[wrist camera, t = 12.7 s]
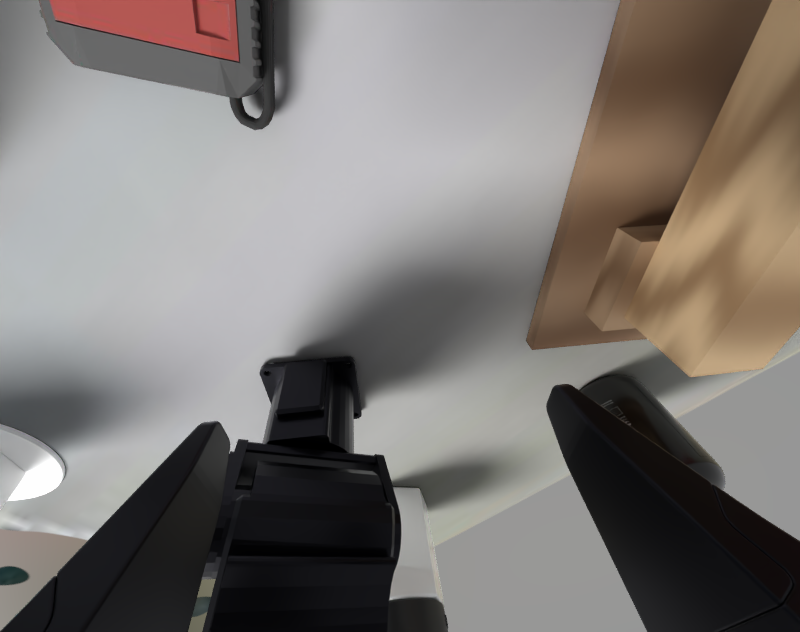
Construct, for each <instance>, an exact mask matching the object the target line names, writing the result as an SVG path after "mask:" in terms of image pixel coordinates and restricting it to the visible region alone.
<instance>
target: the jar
mask: <svg viewBox="0 0 800 632" xmlns="http://www.w3.org/2000/svg"><path fill="white" fill-rule="evenodd" d="M393 489H394V493H395V496H396V500H397V503H398V507H399V511H400V517H401V548H400V555H399V559H398V563H397V566H396V569H395V571H394V575H393V580H392V584H391V591H390V599H389V609H388V628H387V632H448V624H447V618H446V615H445V611H444V601H443V596H442V591H441V584H440V579H439V573H438V567H437V561H436V556H435V550H434V544H433V539H432V533H431V527H430V522H429V516H428V510H427V506H426V503H425V501H424V498H423V496H422V493H421V491H420V489H419V488H406V487H393Z"/></svg>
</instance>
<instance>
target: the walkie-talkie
mask: <svg viewBox="0 0 800 632" xmlns="http://www.w3.org/2000/svg"><path fill="white" fill-rule="evenodd" d="M39 3H40V6H41V9H42V10H40V14H41V17H42V18H44V19H45V22H46V25H47V29H48V32H46V33H47V35H48V36H49V37H50V39H51V40H52V41H53V42H54V43H55V44H56V45H57V46H58V48H59V49H60V50H61V51H62V52H63V53H64V54H65V55H66V57H67V58H68V59H69V60H70V61H71V62H72V63H73V64H74V65H77V66H81V67H85V68H90V69H94V70H99V71H104V72H109V73H114V74H119V75H124V76H129V77H133V78H138V79H143V80H148V81H153V82H158V83H163V84H167V85H172V86H177V87H182V88H187V89H192V90H197V91H202V92H206V93H211V94H216V95H221V96H226V97H229V98H230V104H231V108H232V110H233V112H234V115H235V117H236V118H237V119H238V120H239V122H240V123H241V124H243V125H245V126H247V127H249V128H252V129H254V130H258V129H263V128H264V127H266V126H267V125H269V123H270V121H271V120H272V117H273V113H274V109H275V83H274V27H273V0H39ZM262 85H263V96H264V104H263V111H262V114H261V116H260V117H259V118H257V119H256V118H254V117H251V116H249V115H248V114H247V113H246V112H245V110H244V106H243V103H242V97H245V96H249V95H252V94H254V93H255V92H256V91H257V90H258V89H259V88H260V87H261V86H262Z"/></svg>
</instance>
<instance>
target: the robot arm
mask: <svg viewBox="0 0 800 632" xmlns="http://www.w3.org/2000/svg"><path fill="white" fill-rule="evenodd" d="M346 363H350V364H346ZM267 371H270V372H267ZM260 376H261V378H262V381H263V384H264V386H265V389H266V391H267V394H268V397H269V399H270V402H271V408H270V413H269V417H268V421H267V426H266V430H265V434H264V438H263V443H254V442H248V440H242V439H238V442H237V445H236V448H235V451H234V452H232V451H231V452H230V454H229V451H230V441H229V438H228V436H227V434H226V432H225V430H224V429H223V427H222V425H221V423H220V422H218V421H213V422H204V423H201V424H200V425H198V426H197V427H196V428H195V430H194V431H193V432H192V433H191V434H190V435H189V436H188V437H187V438H186V439H185V440H184V441H183V442H182V443H181V444H180V445H179V446H178V447H177V448H176V449H175V450H174V451H173V452H172V454H171V455H170V456H169V457H168V458H167V459H166V460H165V461H164V462H163V463H162V464H161V465H160V466H159V467H158V468H157V469H156V470H155V471H154V472H153V473H152V474H151V475H150V476H149V478H148V479H147V480H146V481H145V482H144V483H143V484H142V485H141V486H140V487H139V488H138V489H137V490H136V491H135V492H134V493H133V494H132V495H131V496H130V497H129V498H128V499H127V500H126V502H125V503H124V504H123V505H122V506H121V507H120V508H119V509H118V510H117V511H116V512H115V513H114V514H113V515H112V516H111V517H110V518H109V519H108V520H107V521H106V522H105V523H104V524H103V526H102V527H101V528H100V529H99V530H98V531H97V532H96V533H95V534H94V535H93V536H92V537H91V538H90V539H89V540H88V541H87V542H86V543H85V544H84V545H83V546H82V548H81V549H80V550H79V551H78V552H77V553H76V554H75V555H74V556H73V557H72V558H71V559H70V560H69V561H68V562H67V563H66V564H65V565H64V566H63V567H62V568H61V569H60V570H59V571H58V573H57V576H54V577H53V578H52V579H51V580H50V581H49V582H48V583H47V584H46V585H45V586H44V587H43V588H42V589H41V590H40V591H39V592H38V593H37V594H36V595H35V597H33V598H32V599H31V601H30V602H28V603H27V605H25V607H24V608H23V609H22V610H21V611H20V612H19V613H18V614H17V615H16V616H15V617H14V618H13V619H12V620H11V621H10V622H9V623H8V624H7V625H6V626H5V627H4V628H3V629H2V630H1V631H0V632H188V629H189V625H190V621H191V618H192V614H193V610H194V606H195V603H196V599H197V595H198V591H199V587H200V584H201V580H202V579H216V581H215V584H214V588H213V592H212V596H211V600H210V604H209V608H208V612H207V616H206V620H205V623H204V627H203V631H202V632H387V628H388V609H389V599H390V591H391V584H392V580H393V575H394V571H395V569H396V566H397V563H398V559H399V555H400V548H401V517H400V511H399V507H398V503H397V500H396V496H395V493H394V489H393V486H392V482H391V479H390V476H389V472H388V469H387V465H386V462H385V458H384V455H377V454H375V455H374V456H373V455H364V454H354V422H353V419H357V418H359V417H361V403H360V396H359V388H358V380H357V373H356V365H355V360H354V359H353V358H352V357H338V358H328V359H317V360H306V361H295V362H284V363H274V364H265V365H263V366H262V367H261V370H260ZM546 407H547V413H548V416H549V418H550V421H551V424H552V427H553V429H554V432H555V435H556V438H557V440H558V443H559V446H560V449H561V451H562V454H563V457H564V459H565V462H566V464H567V466H568V469H569V471H570V473H571V475H572V477H573V479H574V481H575V483H576V485H577V487H578V490H579V492H580V494H581V496H582V498H583V500H584V502H585V504H586V506H587V508H588V510H589V512H590V514H591V516H592V518H593V521H594V523H595V524H596V527H597V528H598V531H599V533H600V535H601V537H602V539H603V541H604V543H605V545H606V547H607V549H608V551H609V553H610V556H611V558H612V560H613V562H614V564H615V566H616V568H617V570H618V572H619V574H620V576H621V578H622V580H623V582H624V585H625V587H626V589H627V591H628V593H629V595H630V597H631V599H632V601H633V603H634V605H635V607H636V609H637V611H638V614H639V616H640V618H641V620H642V622H643V624H644V626H645V628H646V630H647V632H800V541H799V540H797V539H796V538H794V537H792V536H791V535H789V534H788V533H786V532H785V531H783V530H781V529H780V528H778V527H777V526H775V525H773V524H772V523H770V522H769V521H767V520H766V519H764V518H762V517H761V516H760V515H758V514H757V513H755V512H754V511H752V510H751V509H749V508H748V507H746V506H745V505H743V504H742V503H740V502H739V501H737V500H736V499H734V498H733V497H731V496H730V495H729V494H727V493H726V492H724V491H723V490H721V489H720V488H719V487H717V486H716V485H712V484H711V482H710V481H708V480H707V479H705V478H704V477H703V476H701V475H700V474H698V473H697V472H695V471H694V470H692V469H691V468H690V467H688V466H687V465H685V464H684V463H682V462H681V461H680V460H678V459H677V458H675V457H674V456H672V455H671V454H669V453H668V452H667V451H665V450H664V449H662V448H661V447H659V446H658V445H657V444H655V443H654V442H652V441H651V440H649V439H648V438H647V437H645V436H644V435H642V434H641V433H639V432H638V431H636V430H635V429H634V428H632V427H631V426H629V425H628V424H626V423H625V422H624V421H622V420H621V419H619V418H618V417H616V416H615V415H613V414H612V413H611V412H609V411H608V410H606V409H605V408H603V407H602V406H601V405H599V404H598V403H596V402H595V401H593V400H592V399H590V398H589V397H588V396H586V395H585V394H583V393H582V392H580V391H579V390H578V389H576V388H575V387H573V386H572V385H569V384H562V385H555V386H554V387H553V388H552V391H551V394H550V396H549V399H548V401H547V406H546Z"/></svg>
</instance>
